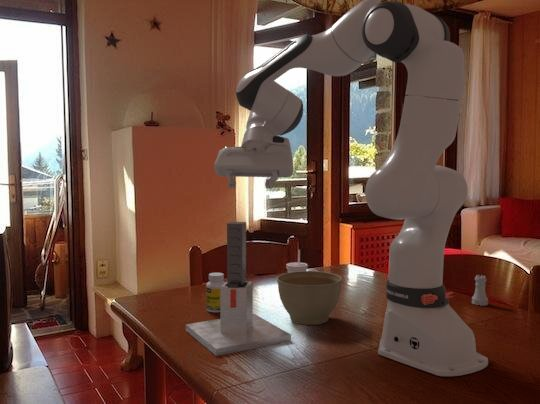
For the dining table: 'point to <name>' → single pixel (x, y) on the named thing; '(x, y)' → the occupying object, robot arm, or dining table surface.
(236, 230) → the post
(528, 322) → the dining table surface
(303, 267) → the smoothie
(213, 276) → the supplement bottle
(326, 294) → the planter bowl
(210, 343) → the stand
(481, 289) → the rook chess piece
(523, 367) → the dining table surface
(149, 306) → the dining table surface
